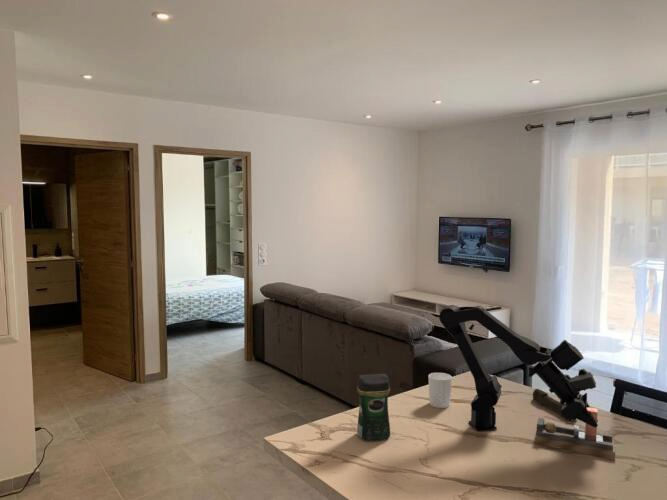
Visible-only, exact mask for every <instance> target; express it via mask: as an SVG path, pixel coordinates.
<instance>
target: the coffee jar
mask: <svg viewBox="0 0 667 500" xmlns="http://www.w3.org/2000/svg"><path fill="white" fill-rule="evenodd" d="M356 391H357V393H358V395H359V399H358V400H359V407H358V415H357V416H358V418H357V436H358V438H359V439H361V440H363V441H364V442H376V441H385V440H388V439H389V438H390V436H391V426H390V424H391V423H390V416H389V415H390V414H389V405H388V404H389V403H388V399H389V394H390V393H391V392H390V391H391V385H390V379H389V377H388V376H387V374H385V373H378V374H377V373H375V374H371V373H370V374H359V375H358V378H357V387H356Z"/></svg>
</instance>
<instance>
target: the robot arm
mask: <svg viewBox="0 0 667 500" xmlns="http://www.w3.org/2000/svg"><path fill="white" fill-rule="evenodd" d="M438 319H439V322H440V323H441V325H442V326H443V327H444V328H445V330H446V331H447V332H448V333H449V335H451V336H452V337H453V338H454V340H455V343H456V344H457V347H458V348H459V351H460V353H461V355H462V357H463V359H464V361H465V363H466V365H467V367H468V370H469V371H470V373H471V375H472V377H473V380H474V385H475V391H476V395H475V396H474V397H473V399H472V401H471V403H470V408H471V411H470V412H471V414H470V420H468V424H469V425H470V426H472V428H474V429H475V430H476V431H477V432H485V431H493V430H495V431H496V430H498V428H497V425H496V424H497V423H496V422H497V421H496V418H497V417H496V415H497V412H496V411H495V407H494V406H496V405H497V404H498V402H499V399H500V398H501V396H502V385H501V384H500V382H499V380H498V377H497V374H494V375H490V373H488V371H487V369H486V368H485V365H484V363H483V362H482V359H481V357H480V355H479V353H478V352H477V350H476V347H475V345H474V343H473V342H472V339H471V338H470V335H469V333H468V332H467V328H466V322H472V321H473V322H474V321H476V322H477V323H479V324H480V325H481V326H482V327H484V328H485V329H486V330H488V331H489V332H490V333H491V334H493V335H495V336H496V337H497V338H498V339H499V340H501V342H504V344H506V345H507V346H508V347H509V348H510V350H511V351H512V353H513V354H514V355H515V357H516V358H518V359H519V360H520V362H522V363H523V364H524V365H526V366H528V377H529V378H532V377H534V376H535V375H537V376H538V377H539V378H540V380H541V381H543V383H544V384H545V386H547V387H548V388H549V389H548V391H549V393H551V394H555V396H556V397H557V399H559V402H560V403H561V404H562V405H563V404H564V405H563V406H562V410H561V414H560V415H561V417H563V418H564V420H565V421H568V419H570V418H571V417H573V418H576V419H575V420H578V421H580V422H583V423H585V424H586V423H587V424H589V425H591V426H593V427H597V428H598V427H599V424H598V421H599V420H598V419H597V423H596V421H595V420H594V418H593V417H592V415H591V414H590V412H589V411H588V410H587V407H589V408H591V407H590V404H589V402H588V393H587V392H585V393H584V394H582V393H580V392H582V391H583V392H584V391H586V390H589V389H590V390H593V389H595V388H596V387H597V382H596V380H595V379H594V375H593V374H592V372H590V371H587V370H586V369H585V368H582V369H578V374H577V375H575V376H574V377H571V376H570V375H569V374H564V373H563V372H562V371H561V370H563V371H565V370H566V371H569V370H570V369H572V368H573V367H574V366H576V365H577V364H579V363H580V362H581V361H582V360H584V359H585V358H584V356H583V354H582V353H581V352H580V350H579V349H578V348H577V347H576V346H574V345H573V344H571V343H570V342H569V341H568V340H566V339H563V340H562V341H561V342H560V343H559V344H558V345H557V346H556V347H554V348H553V349H552V348H549V347H545V346H541V345H540V344H539V343H538V342H536V341H534V340H532V339H530V338H528V337H526V336H523V335H520V334H518V333H517V332H515V331H514V330H512V329H511V328H510V327H508V326H507V325H506V324H505V323H504V322H503V321H501V320H500V319H498V318H497V317H496V316H495V315H493V314H492V313H490V312H489V311H488V310H486V309H485V307H483V306H482V305H475V306H458V305H455V304H451V305H448V306H446V307H444V308H443V309H442V310H441V311H440V312H439V315H438Z"/></svg>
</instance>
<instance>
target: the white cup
mask: <svg viewBox="0 0 667 500" xmlns="http://www.w3.org/2000/svg"><path fill="white" fill-rule="evenodd" d="M452 378H453V377H452V375H451V374H449V373H445V372H431V373H429V374H428V395H429V405H430V406H431V407H433V408H437V409H446V408H449V407H450V405H451V395H452V394H451V393H452V384H453V383H452V380H453V379H452Z"/></svg>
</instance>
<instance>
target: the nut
mask: <svg viewBox="0 0 667 500" xmlns="http://www.w3.org/2000/svg"><path fill="white" fill-rule="evenodd" d="M556 426H557V425H556V424H555V423H554V422H552V421H548V422H546V423H545V430H546V432H549V433H555V432H556Z"/></svg>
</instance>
